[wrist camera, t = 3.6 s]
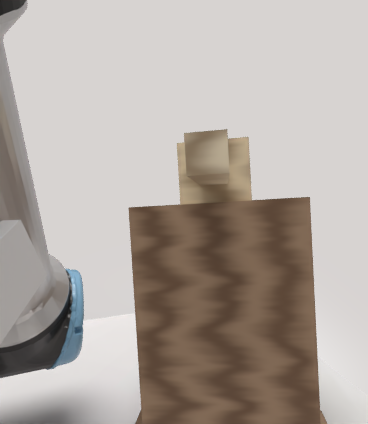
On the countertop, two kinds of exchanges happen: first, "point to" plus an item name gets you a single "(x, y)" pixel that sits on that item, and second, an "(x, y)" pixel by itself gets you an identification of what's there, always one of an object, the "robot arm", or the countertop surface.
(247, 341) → the stand
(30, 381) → the countertop surface
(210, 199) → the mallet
